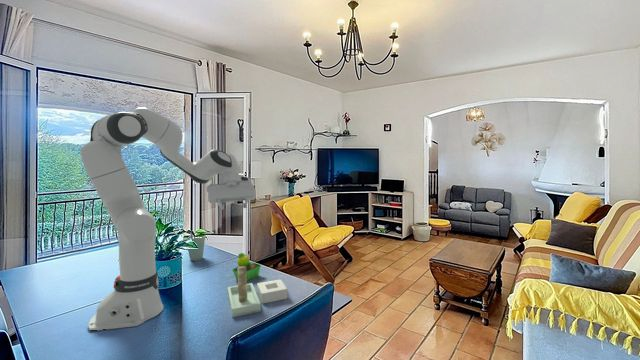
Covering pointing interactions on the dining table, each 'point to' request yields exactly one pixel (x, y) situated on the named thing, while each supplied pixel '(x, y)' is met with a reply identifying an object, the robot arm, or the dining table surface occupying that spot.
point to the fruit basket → (247, 267)
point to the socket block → (271, 291)
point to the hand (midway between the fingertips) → (233, 208)
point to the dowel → (242, 284)
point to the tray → (243, 307)
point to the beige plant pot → (197, 253)
